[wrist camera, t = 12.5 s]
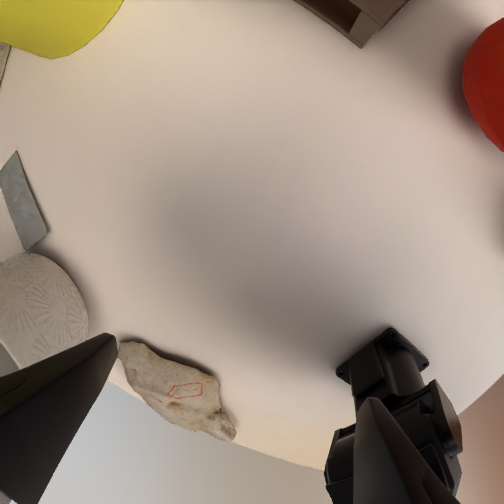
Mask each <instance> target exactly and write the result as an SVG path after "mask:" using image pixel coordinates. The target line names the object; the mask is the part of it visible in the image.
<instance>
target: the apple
mask: <svg viewBox="0 0 504 504" xmlns="http://www.w3.org/2000/svg"><path fill="white" fill-rule="evenodd" d="M462 73H463V93H464V95H465V98H466V100H467V103H468V105H469V108H470V111H471V113H472V116H473V118H474V119H475V121H476V122H477V123H478V125H479V126H480V128H481V129H482V131H483V132H484V134H485V135H486V137H487V138H488V139H489V140H491V141H492V142H493V143H494V144H495V145H496V146H497V147H498V148H499V149H500V150H501V151H502V152H504V18H502V19H500V20H498V21H497V22H495V23H494V24H492V25H490V26H489V27H487V28H486V29H485V30H484V31H483V32H482V33H481V35H480V36H479V37H478V38H477V39H476V40H475V42H474V43H473V44H472V45H471V46H470V47H469V50H468V53H467V55H466V58H465V61H464V63H463V66H462Z"/></svg>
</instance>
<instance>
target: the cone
mask: <svg viewBox="0 0 504 504" xmlns="http://www.w3.org/2000/svg"><path fill="white" fill-rule="evenodd" d="M122 2H123V0H0V42H1V43H4V44H7V45H10V46H13V47H16V48H18V49H21V50H24V51H27V52H29V53H32V54H35V55H37V56H40V57H44V58H49V59H54V58H59V57H63V56H67V55H69V54H71V53H73V52H74V51H76V50H78V49H80V48H81V47H83V46H85V45H86V44H87V43H88V42H89V41H90V40H91V39H92V38H94V37H95V36H96V35H97V34H98V33H99V32H100V31H102V30H103V28H104V27H105V26H106V24H107V23H108V22H109V21H110V19H111V18H112V17H113V16H114V14H115V13H116V12H117V11H118V9H119V7H120V5H121V3H122Z"/></svg>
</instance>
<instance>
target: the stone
mask: <svg viewBox="0 0 504 504" xmlns="http://www.w3.org/2000/svg"><path fill="white" fill-rule="evenodd" d="M117 357H118V358H119V359H120V360H121V361H122V363H123V366H124V369H125V374H126V377H127V381H128V383H129V384H130V386H131V387H132V388H133V390H134V391H135V392H137V393H139V394H140V395H141V396H142V397H143V399H144V400H145V401H146V403H147V404H148V405H149V406H150V407H151V408H152V409H154V410H155V411H156V412H157V413H158V414H160V415H161V416H162V417H163V418H164V419H166V420H167V421H168V422H170V423H172V424H175V425H177V426H179V427H181V428H184V429H186V430H189V431H193V432H200V431H202V432H205V433H208V434H210V435H211V436H213V437H215V438H217V439H220V440H223V441H227V442H231V441H232V440H233V439H234V438H235V435H236V433H237V432H236V430H235V426H234V425H233V424H232V423H231V421H230V419H229V417H228V416H227V415H226V414H224V413H221V411H220V408H222V405H221V400H220V395H219V387H220V384H219V380H218V379H216V378H215V377H212V376H209V375H207V374H205V373H203V372H201V371H199V370H198V369H196V368H193V367H189V366H185V365H182V364H179V363H177V362H174V361H170V360H166V359H162V358H161V357H159V356H158V355H157V354H155V353H154V352H152V351H151V350H150V349H149V348H148V347H147V346H146V345H145V344H143V343H140V344H139V343H136V342H135V341H130V342H119V350H118V355H117Z"/></svg>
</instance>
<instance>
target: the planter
mask: <svg viewBox="0 0 504 504" xmlns="http://www.w3.org/2000/svg"><path fill="white" fill-rule="evenodd" d="M88 329H89V321H88V314H87V310H86V306H85V303H84V301H83V298H82V296H81V294H80V292H79V290H78V288H77V287H76V285H75V284H74V282H73V281H72V279H71V278H70V277H69V276H68V274H67V273H66V272H65V271H64V270H63V269H62V268H61V267H60V266H58V265H57V264H56V263H55V262H53V261H52V260H50V259H49V258H47V257H45V256H42V255H39V254H34V253H26V254H21V255H18V256H15V257H12V258H10V259H8V260H6V261H3V262H2V263H0V377H2V376H5V375H8V374H10V373H13V372H15V371H18V370H20V369H23V368H25V367H29V366H30V365H32V364H34V363H37V362H39V361H41V360H44V359H46V358H48V357H50V356H53V355H55V354H57V353H60V352H62V351H64V350H66V349H69V348H71V347H73V346H75V345H78V344H80V343H82V342H84V341H86V338H87V335H88Z"/></svg>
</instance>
